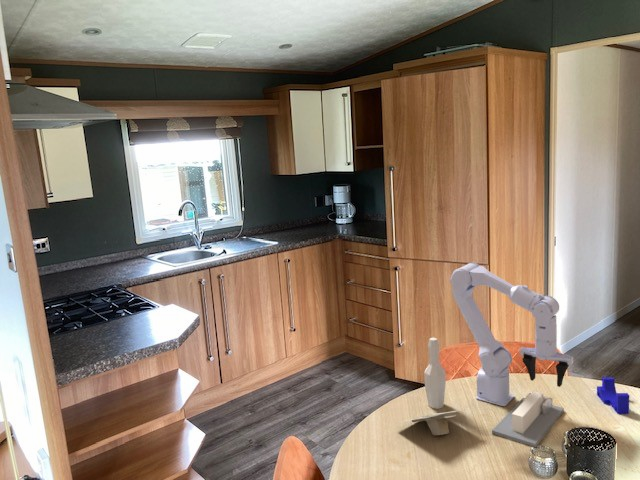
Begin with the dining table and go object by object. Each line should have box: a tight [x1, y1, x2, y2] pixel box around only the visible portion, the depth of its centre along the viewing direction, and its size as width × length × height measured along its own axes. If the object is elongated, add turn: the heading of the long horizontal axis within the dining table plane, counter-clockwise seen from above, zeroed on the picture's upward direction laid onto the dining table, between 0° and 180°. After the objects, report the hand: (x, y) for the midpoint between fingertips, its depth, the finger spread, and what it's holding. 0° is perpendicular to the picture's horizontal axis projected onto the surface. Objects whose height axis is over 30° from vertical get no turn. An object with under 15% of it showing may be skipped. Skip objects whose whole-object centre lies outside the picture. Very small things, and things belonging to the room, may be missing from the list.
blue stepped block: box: [596, 376, 630, 415], centre depth 157 cm, size 12×4×6 cm, turn 172°
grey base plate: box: [491, 392, 565, 448], centre depth 151 cm, size 12×23×4 cm, turn 138°
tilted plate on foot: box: [399, 408, 467, 436], centre depth 149 cm, size 16×9×15 cm
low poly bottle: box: [423, 337, 447, 410], centre depth 163 cm, size 6×6×22 cm
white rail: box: [512, 391, 544, 434], centre depth 150 cm, size 3×16×5 cm, turn 138°
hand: (546, 382), depth 154 cm, fingers open, 7 cm apart
